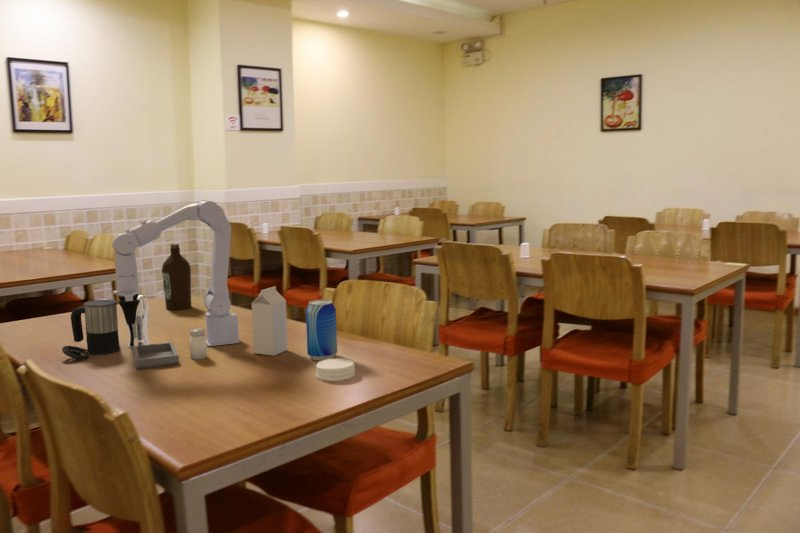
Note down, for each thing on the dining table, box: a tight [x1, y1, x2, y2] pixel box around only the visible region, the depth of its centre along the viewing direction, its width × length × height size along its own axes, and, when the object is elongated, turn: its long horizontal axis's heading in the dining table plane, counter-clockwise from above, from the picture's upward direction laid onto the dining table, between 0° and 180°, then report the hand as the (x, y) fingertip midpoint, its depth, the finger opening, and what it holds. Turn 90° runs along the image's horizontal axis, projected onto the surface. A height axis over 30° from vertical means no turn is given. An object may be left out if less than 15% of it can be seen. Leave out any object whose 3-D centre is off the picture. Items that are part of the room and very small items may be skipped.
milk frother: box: [61, 299, 121, 361], centre depth 196 cm, size 14×16×15 cm
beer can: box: [305, 299, 338, 361], centre depth 189 cm, size 8×8×16 cm
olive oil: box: [161, 243, 192, 311], centre depth 260 cm, size 11×11×25 cm
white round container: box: [315, 357, 356, 382], centre depth 173 cm, size 10×10×4 cm
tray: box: [132, 341, 180, 370], centre depth 190 cm, size 11×16×3 cm
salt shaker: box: [189, 328, 208, 360], centre depth 191 cm, size 4×4×8 cm
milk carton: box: [251, 285, 289, 357], centre depth 195 cm, size 7×7×19 cm
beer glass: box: [125, 295, 150, 349], centre depth 205 cm, size 7×7×15 cm
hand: (130, 321), depth 195 cm, fingers open, 7 cm apart
